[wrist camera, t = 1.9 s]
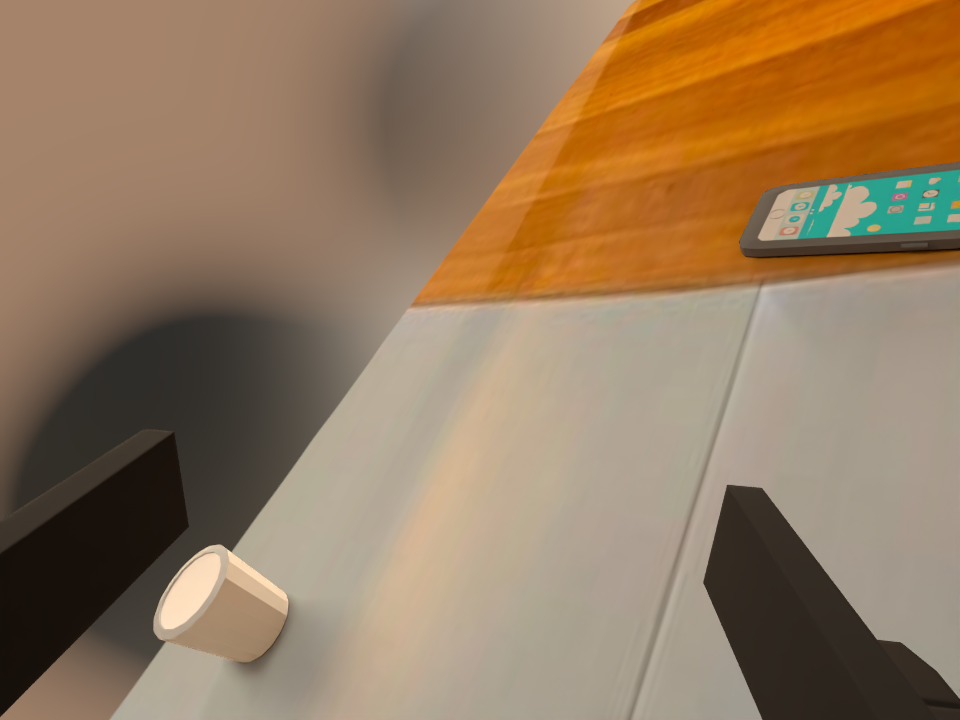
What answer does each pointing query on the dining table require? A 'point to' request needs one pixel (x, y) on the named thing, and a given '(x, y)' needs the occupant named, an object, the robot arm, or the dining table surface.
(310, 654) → the dining table surface
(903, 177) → the smartphone
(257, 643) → the beige tapered cylinder
